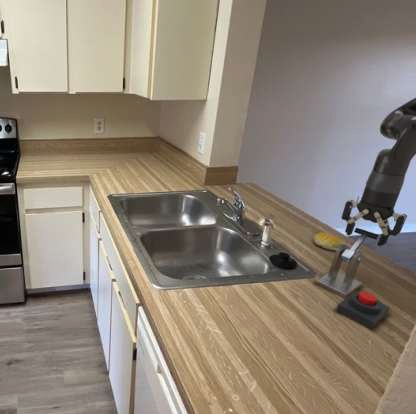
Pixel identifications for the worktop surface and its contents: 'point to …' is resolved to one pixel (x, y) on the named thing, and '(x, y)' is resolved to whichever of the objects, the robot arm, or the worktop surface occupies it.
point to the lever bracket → (341, 275)
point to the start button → (367, 298)
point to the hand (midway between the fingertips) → (363, 239)
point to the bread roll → (328, 241)
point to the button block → (363, 310)
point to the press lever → (357, 244)
